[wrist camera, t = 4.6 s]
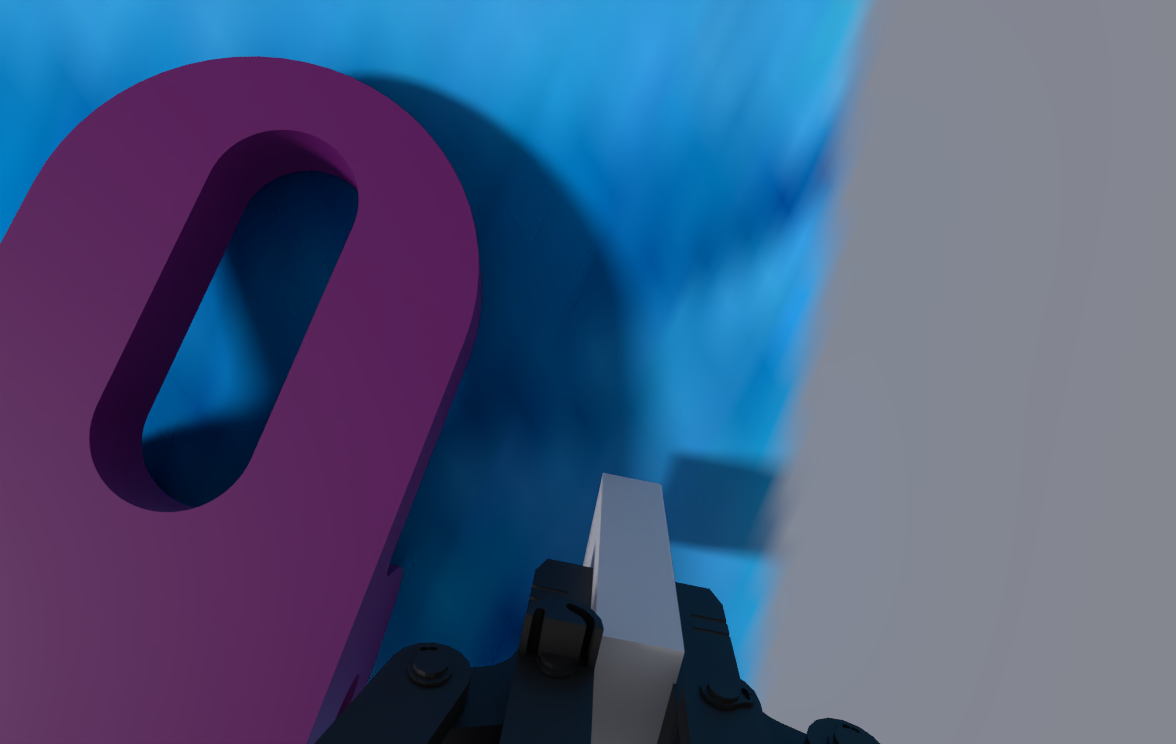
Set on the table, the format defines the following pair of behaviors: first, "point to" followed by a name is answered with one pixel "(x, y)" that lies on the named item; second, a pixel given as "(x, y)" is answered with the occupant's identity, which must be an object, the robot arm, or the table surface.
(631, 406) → the table surface
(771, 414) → the table surface
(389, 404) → the mounting bracket
